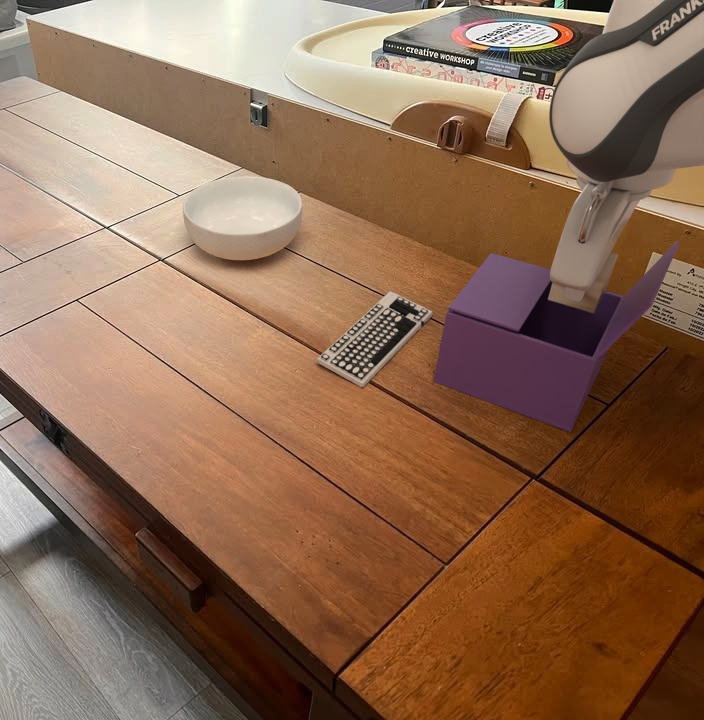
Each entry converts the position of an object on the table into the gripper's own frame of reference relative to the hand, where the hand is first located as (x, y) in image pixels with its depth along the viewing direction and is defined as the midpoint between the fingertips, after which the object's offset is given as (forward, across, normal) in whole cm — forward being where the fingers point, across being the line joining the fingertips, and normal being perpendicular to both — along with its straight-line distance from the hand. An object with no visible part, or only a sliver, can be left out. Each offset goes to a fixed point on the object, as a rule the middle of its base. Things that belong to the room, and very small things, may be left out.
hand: (581, 282), depth 76 cm
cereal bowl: (+14, +7, +45) cm, 48 cm away
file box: (+14, 0, +3) cm, 14 cm away
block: (+2, 0, 0) cm, 2 cm away
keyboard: (+14, -3, +20) cm, 24 cm away
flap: (0, 0, -5) cm, 5 cm away
